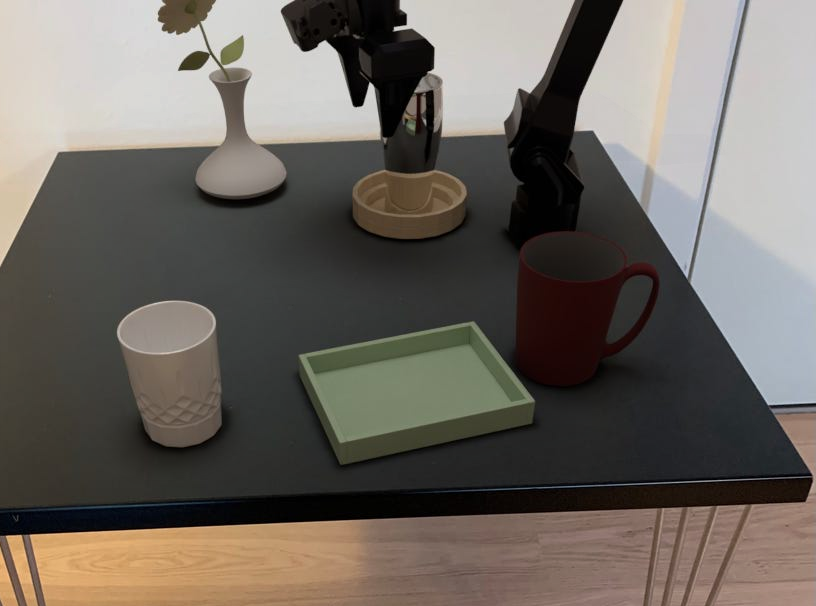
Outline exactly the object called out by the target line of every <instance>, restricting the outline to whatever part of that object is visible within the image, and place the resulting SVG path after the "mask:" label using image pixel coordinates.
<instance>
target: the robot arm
mask: <svg viewBox="0 0 816 606" xmlns="http://www.w3.org/2000/svg"><path fill="white" fill-rule="evenodd" d="M623 3H624V0H573V3H572V6H571V8H570V11H569V12H568V15H567V18H566V21H565V23H564V26H563V28H562V29H561V32H560V35H559V37H558V40H557V42H556V45H555V47H554V50H553V52H552V55H551V57H550V59H549V61H548V64H547V67H546V69H545V72H544V73H543V75H542V78H541V79H540V80H539V82H538V83H537V84H536V86H535V87H534V88H533V89H532V90H531V92H528V91H526V90H524V89H523V88H520V87H519V88H517V91H516V94H515V99H514V103H513V107H512V110H511V112H510V114H509V115H508V117H507V118H506V119H505V120H504V121H503V128H504V135H505V142H506V148H507V156H508V162H509V168H510V170H511V173H512V175H513V176H514V177H515V178H516V179H517V180H518V181H519V182H520V183H522V184H517V185H516V192H515V193H516V195H515V199H513V200H512V201H511V205H510V214H509V223H508V226H506V227H505V230H504V231H505V233H506V234H507V236H509V238H510V239H511V240H512V241H513V242H514V243H515V244H516V245H517V246H518V247H519V248H520V249H521V248H522V246H523V245H524V244H525V243H526V242H527V241H528V240H530V239H532V238H534V237H536V236H538V235H542V234H545V233H551V232H561V231H572V232H577V226H578V225H577V224H578V219H579V212H580V207H581V200H582V193H583V191H584V190H585V184H584V182H583V177H582V173H581V170H580V166H579V163H578V159H577V156H576V153H575V152H574V150H573V149H572V147H571V146H572V144H573V139H574V134H575V129H576V123H577V117H578V109H579V105H580V100H581V97H582V94H583V92H584V90H585V88H586V86H587V83H588V81H589V79H590V77H591V75H592V72H593V70H594V68H595V65H596V64H597V61H598V60H599V59H598V58H599V56H600V55H601V52H602V50H603V47H604V45H605V43H606V41H607V39H608V36H609V34H610V32H611V30H612V27H613V25H614V23H615V21H616V19H617V16H618V14H619V11H620V9H621V7H622V5H623ZM280 14H281V16H282V18H283V21H284V23H285V26H286V28H287V31H288V33H289V35H290V37H291V41H292V42H293V44H294V45H296V46H297V47H298V49H299V50H300V51H301V52H303V53H306V52H311V51H313V50H315V49H317V48H318V47H319V44H321V43H323V42H326V44H328V45H330V47H332V48H333V50H335V51H336V53H337V57H338V59H339V63H340V66H341V69H342V72H343V76H344V80H345V83H346V88H347V90H348V94H349V97H350V101H351V104H352V105H351V106H352V107H353V108H354V109H355V108H362V107H363V106H364V104H365V102H366V97H367V94H368V91H369V87H370V84H371V85H372V86H373V88H374V95H375V101H376V108H377V114H378V122H379V129H380V128H381V133H382V136H383V137H384V138H389V137H392V136H393V135H394V134H395V131H396V129H397V127H398V125H399V123H400V121H401V118H402V116H403V114H404V112H405V110H406V108H407V106H408V104H409V102H410V99H411V97H412V96H413V94H414V92H415V90H416V88H417V86H418V85H419V83H420V81H421V79H422V77H425V76H427V73H430V72H432V71H434V69H435V56H436V55H435V53H436V47H435V46H434V45H433V44H432V43H431V42H430V41H429V40H428V39H427V38H426V37H425V36H424V35H422V34H421V33H419V32H418V31H416V30H415V29H414V28H406V29H398V30H395V28H398V27H405V26H408V14H407V12H405V11H403V10H402V9H401V0H292V1H291V2H289V3H287V4H285V5H284V6H283V7H282V8H281V9H280Z"/></svg>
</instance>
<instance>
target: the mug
mask: <svg viewBox="0 0 816 606" xmlns="http://www.w3.org/2000/svg"><path fill="white" fill-rule="evenodd" d="M518 258H519V259H518V260H519V261H518V269H517V284H516V312H515V315H516V318H515V352H514V353H515V358H514V359H515V365H516V367H517V369H518V370H519V372H520V373H521V374H522V375H524V376H525V377H527V378H528V379H530V380H532V381H534V382H536V383H540V384H542V385H543V384H544V385H547V386H554V387H569V386H575V385H579V384H582V383H584V382H586V381H588V380H590V379H591V378H592V377H593V376H594V374H595V373H596V371H597V369H598V365H599V362H600V361H602V360H605V359H607V358H610V357H612V356H615V355H617V354H619V353H620V352H622V351H623V350H625V349H626V348H627V347H628V346H629V345H630V344H632V343H633V342H634V340H636V338H638V336H639V335H640V334H641V332H642V331H643V329H644V327H645V326H646V325H647V323H648V321H649V319H650V317H651V315H652V313H653V311H654V308H655V306H656V303H657V300H658V296H659V291H660V276H659V273H658V271H657V269H656V268H655V266H654V265H653V264H651V263H649V262H645V261H641V262H634V263H632V264H630V265H628V266H627V263H628V258H627V255H626V253H625V251H624V250H623V249H622V248H621V246H619V245H618V244H617V243H615V242H613V241H611V240H609V239H608V238H605V237H602V236H600V235H597V234H592V233H588V232H582V231H576V232H572V231H561V232H551V233H545V234H542V235H538V236H536V237H534V238H532V239H530V240H528V241H527V242H526V243H525V244H524V245H523V246H522V248H520V250H519V257H518ZM637 276H646V277H647V278H650V279H651V280H652V286H651V291H650V294H649V296H648V299H647V302H646V305H645V306H644V308H643V311H642V313H641V314H640V316H639V318H638V319H637V321H636V322H635V323H634V325H633V326H632V327H631V328H630V329H629V330H628V331H627V332H626V333H625V334H624V335H623V336H621V337H620V338H619V339H617V340H616V341H614V342H611V343H608V342H607V336H608V332H609V329H610V326H611V323H612V320H613V316H614V313H615V310H616V307H617V302H618V300H619V296H620V294H621V290H622V288H623V287H624V285H625V284H626V282H627V281H628V280H630V279H631V278H633V277H637Z"/></svg>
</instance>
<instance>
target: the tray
mask: <svg viewBox="0 0 816 606" xmlns="http://www.w3.org/2000/svg"><path fill="white" fill-rule="evenodd" d="M298 368H299V377H300V379H301V381H302V384H303V386H304V388H305V390H306V393H307V395H308V397H309V399H310V401H311V404H312V406H313V408H314V410H315V412H316V414H317V416H318V419H319V421H320V423H321V425H322V427H323V430H324V432H325V434H326V436H327V439H328V441H329V443H330V445H331V447H332V450H333V452H334V454H335V457H336V458H337V460H338V463H339V465H340V466H343V465H348V464H353V463H356V462H357V463H358V462H361V461H367V460H370V459H371V460H372V459H375V458H380V457H385V456H389V455H393V454H399V453H403V452H409V451H412V450H417V449H421V448H426V447H430V446H435V445H439V444H444V443H449V442H452V441H457V440H463V439H467V438H472V437H477V436H480V435H486V434H490V433H494V432H495V433H496V432H499V431H504V430H508V429H512V428H518V427H522V426H528V425H531V424H533V419H534V415H535V414H534V412H535V406H536V400H535V399H534V397H533V396H532V395H531V394H530V392H529V391H528V390H527V388H526V387H525V386H524V385H523V384H522V382H521V381H520V379H519V378H518V376H517V375H516V374H515V373H514V371H513V370H512V369H511V368H510V366H509V365H508V364H507V362H506V361H505V360H504V359H503V357H502V355H500V353H499V352H498V351H497V349H496V348H495V346H494V345H493V343H491V341H490V340H489V339H488V337H487V336H486V335H485V333H484V332H483V331H482V330H481V329H480V327H479V326H478V324H477V323H476V322H475V321H474V320H473V321H468V322H462V323H457V324H452V325H447V326H442V327H437V328H436V327H435V328H431V329H425V330H421V331H416V332H415V331H414V332H411V333H405V334H400V335H395V336H390V337H384V338H379V339H374V340H369V341H364V342H358V343H352V344H349V345H348V344H347V345H342V346H337V347H333V348H327V349H322V350H316V351H313V352H307V353H302V354H298Z"/></svg>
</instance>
